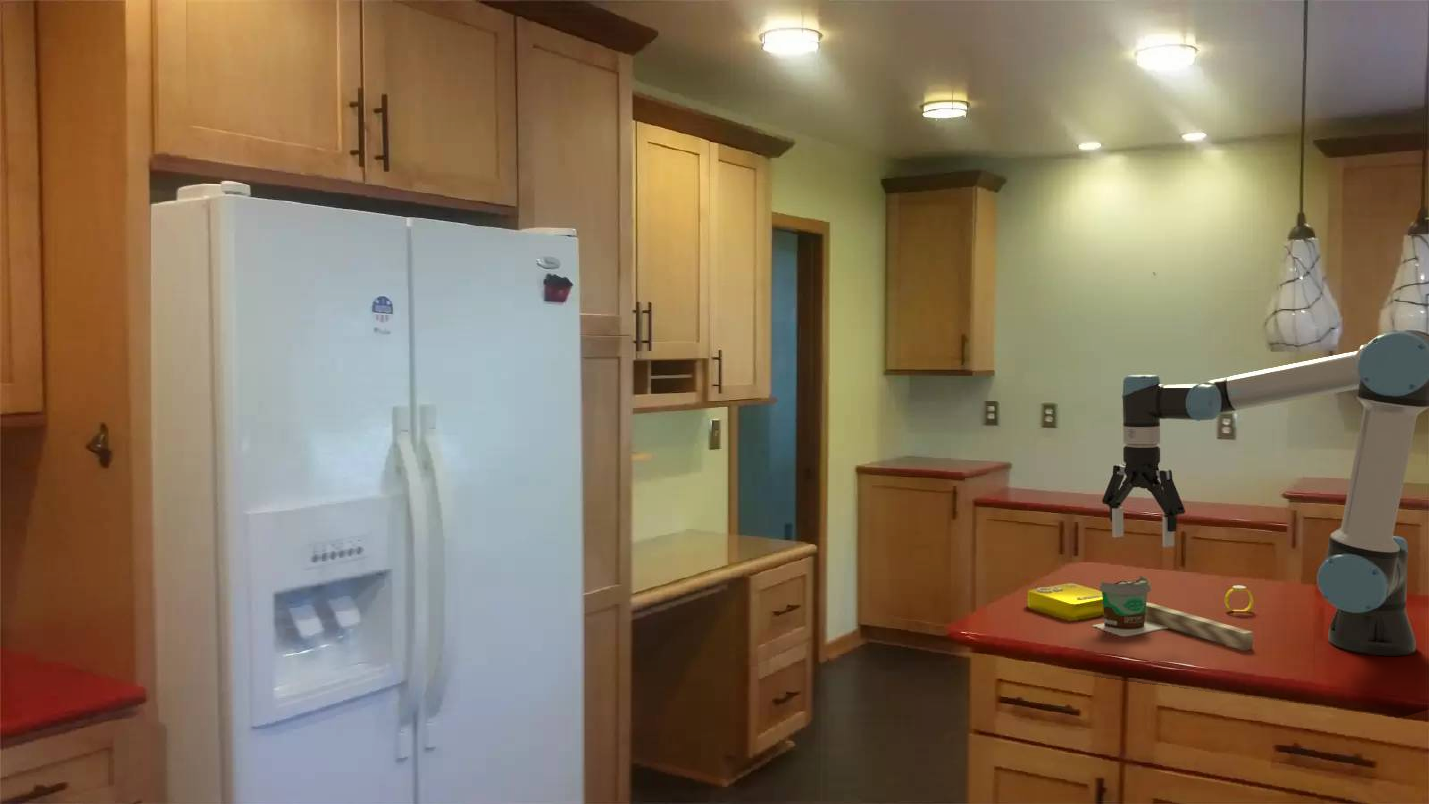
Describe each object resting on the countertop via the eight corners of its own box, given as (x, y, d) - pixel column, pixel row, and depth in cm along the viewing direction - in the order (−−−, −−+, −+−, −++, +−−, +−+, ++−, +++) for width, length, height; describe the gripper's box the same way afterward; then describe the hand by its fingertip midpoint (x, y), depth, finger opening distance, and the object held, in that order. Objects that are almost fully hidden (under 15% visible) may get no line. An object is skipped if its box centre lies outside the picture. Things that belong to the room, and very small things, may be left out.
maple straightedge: (1252, 648, 217) (1252, 631, 216) (1242, 650, 215) (1242, 634, 215) (1136, 614, 244) (1136, 599, 243) (1126, 615, 242) (1126, 600, 242)
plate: (1167, 628, 232) (1167, 627, 232) (1123, 637, 226) (1123, 635, 226) (1135, 618, 240) (1135, 617, 240) (1092, 626, 235) (1092, 625, 235)
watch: (1228, 614, 243) (1226, 589, 242) (1223, 611, 246) (1222, 586, 245) (1255, 613, 242) (1254, 587, 242) (1251, 609, 245) (1249, 584, 245)
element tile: (1070, 623, 239) (1070, 602, 239) (1023, 608, 252) (1023, 588, 252) (1119, 614, 246) (1119, 593, 245) (1070, 599, 259) (1070, 580, 259)
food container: (1120, 634, 228) (1121, 588, 227) (1099, 626, 233) (1099, 581, 233) (1163, 626, 233) (1163, 581, 232) (1141, 619, 238) (1141, 575, 238)
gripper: (1085, 442, 242) (1086, 534, 244) (1178, 451, 220) (1178, 552, 221) (1108, 440, 246) (1110, 531, 247) (1202, 448, 224) (1203, 548, 225)
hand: (1142, 541), depth 234 cm, fingers open, 13 cm apart
